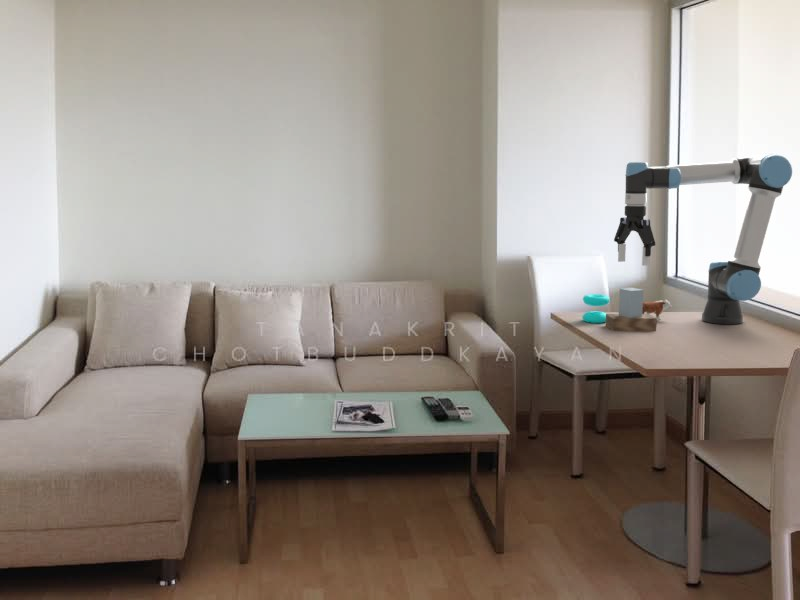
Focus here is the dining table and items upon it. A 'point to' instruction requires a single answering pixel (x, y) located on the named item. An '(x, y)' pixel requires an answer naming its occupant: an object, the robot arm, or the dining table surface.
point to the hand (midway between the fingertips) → (633, 263)
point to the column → (630, 302)
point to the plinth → (631, 323)
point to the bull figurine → (655, 307)
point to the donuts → (595, 301)
